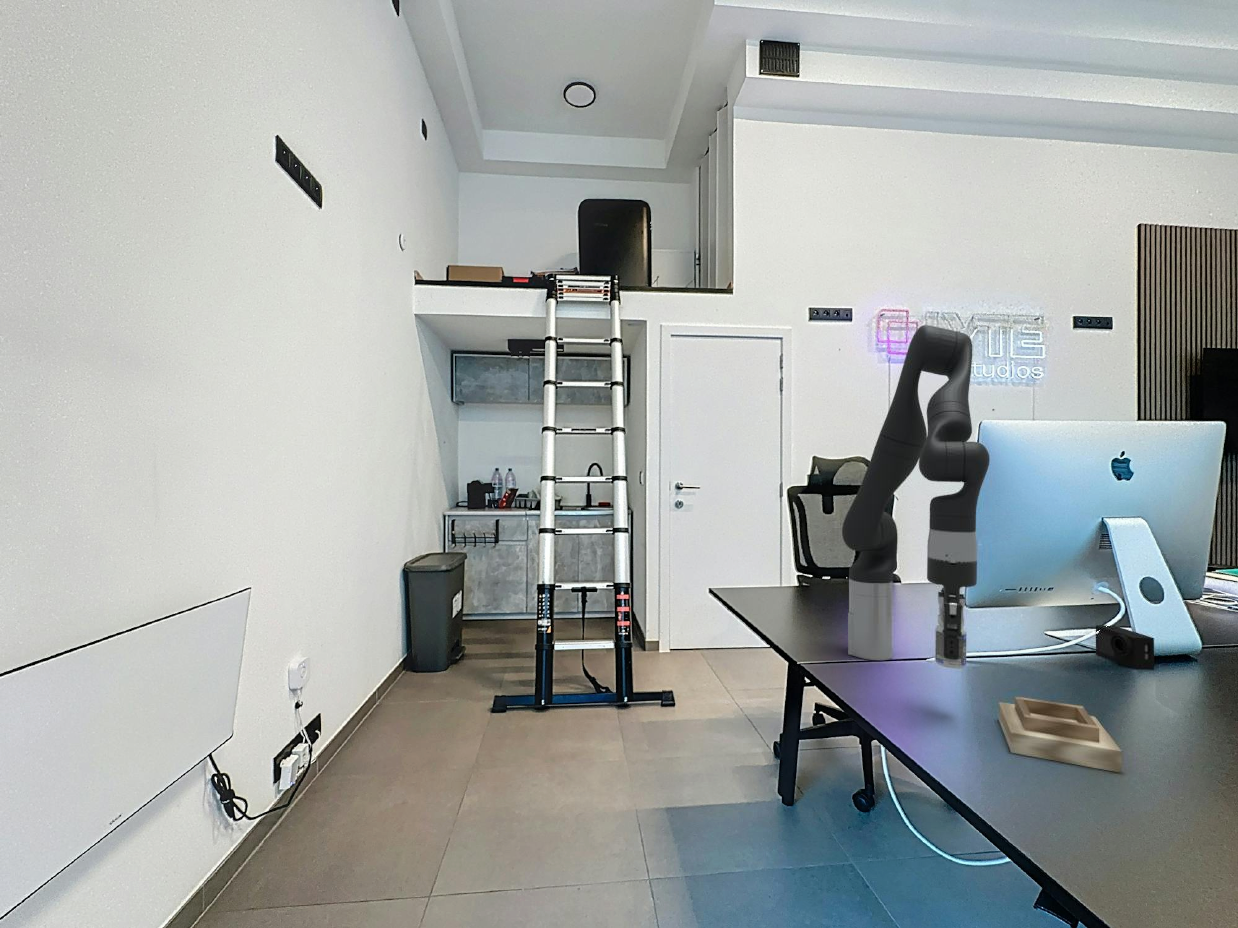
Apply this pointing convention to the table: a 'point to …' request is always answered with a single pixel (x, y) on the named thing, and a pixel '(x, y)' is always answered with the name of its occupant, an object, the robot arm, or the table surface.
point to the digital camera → (1125, 647)
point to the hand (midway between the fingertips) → (950, 653)
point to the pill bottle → (939, 647)
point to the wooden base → (1058, 734)
